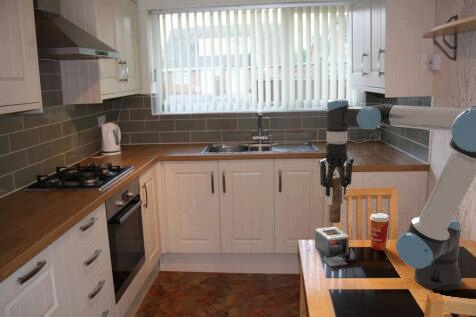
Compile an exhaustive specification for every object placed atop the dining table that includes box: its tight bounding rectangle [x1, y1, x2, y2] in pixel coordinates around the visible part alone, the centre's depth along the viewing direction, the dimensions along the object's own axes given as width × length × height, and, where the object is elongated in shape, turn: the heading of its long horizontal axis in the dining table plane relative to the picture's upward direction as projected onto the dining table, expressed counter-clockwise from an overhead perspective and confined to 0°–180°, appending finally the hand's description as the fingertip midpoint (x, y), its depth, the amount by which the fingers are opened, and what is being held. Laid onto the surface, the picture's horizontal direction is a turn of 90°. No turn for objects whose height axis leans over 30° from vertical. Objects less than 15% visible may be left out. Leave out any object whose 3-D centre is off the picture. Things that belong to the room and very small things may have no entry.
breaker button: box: [330, 240, 337, 246], centre depth 180 cm, size 4×4×3 cm
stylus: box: [329, 175, 342, 224], centre depth 165 cm, size 4×4×17 cm
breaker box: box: [314, 225, 350, 258], centre depth 180 cm, size 12×9×8 cm
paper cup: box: [369, 212, 390, 251], centre depth 182 cm, size 8×8×14 cm
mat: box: [321, 256, 348, 268], centre depth 170 cm, size 7×7×1 cm
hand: (335, 203), depth 165 cm, fingers closed on stylus, 4 cm apart
